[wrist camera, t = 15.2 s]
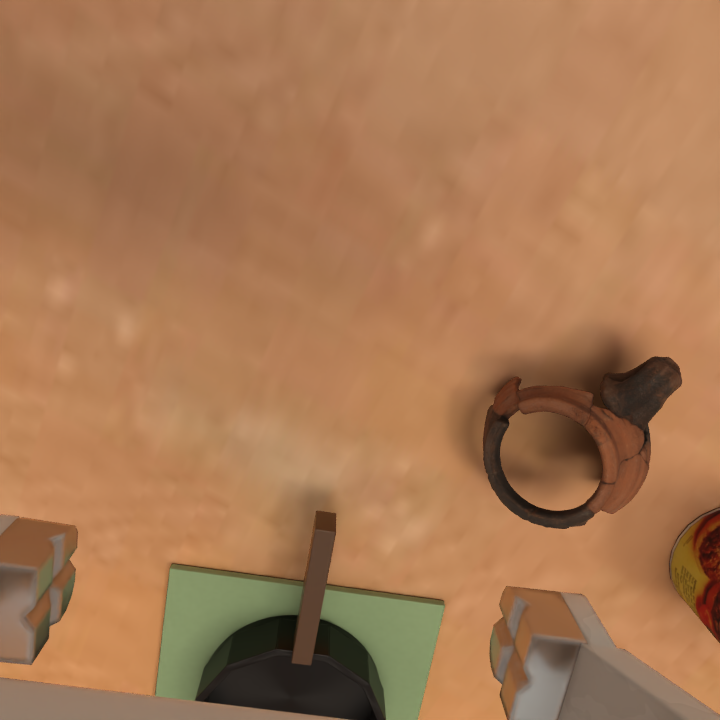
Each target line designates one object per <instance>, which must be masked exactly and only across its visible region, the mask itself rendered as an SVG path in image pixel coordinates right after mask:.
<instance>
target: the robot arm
mask: <svg viewBox="0 0 720 720" xmlns="http://www.w3.org/2000/svg"><path fill="white" fill-rule="evenodd" d="M77 541H78V531H77V528H76V526H74V525H68V524H62V523H55V522H49V521H43V520H36V519H30V518H24V517H21V518H20V517H19V516H12V515H3V514H0V662H6V663H17V664H27V665H32V663H33V662H34V660H35V659H36V657H37V655H38V654H39V652H40V651H41V649H42V648H43V646H44V645H45V643H46V642H47V640H48V638H49V626H51V625H53V624H55V623H57V622H59V621H60V619H61V618H62V616H63V614H64V613H65V611H66V609H67V606H68V604H69V601H70V598H71V596H72V592H73V587H74V582H75V571H76V569H75V567H74V566H73V564H72V563H71V561H70V560H69V559H70V557H71V556H72V554H73V553H74V551H75V550H76V549H77ZM499 606H500V609H501V611H502V614H503V617H502V618H501V619H500V620H499V621H498V622H497V623H495V624H494V626H493V631H492V635H491V640H490V663H491V668H492V672H493V675H494V677H495V678H496V679H497V680H498V681H499V682H500V683H501V684H502V688H501V691H500V698H501V701H502V704H503V707H504V710H505V713H506V717H507V720H720V715H719V714H717V713H716V712H715V711H713V710H712V709H710V708H709V707H707V706H706V705H704V704H703V703H701V702H700V701H699V700H697V699H696V698H694V697H693V696H691V695H690V694H688V693H687V692H686V691H684V690H683V689H681V688H680V687H678V686H677V685H675V684H674V683H673V682H671V681H670V680H668V679H667V678H665V677H664V676H662V675H661V674H660V673H658V672H657V671H655V670H654V669H652V668H651V667H649V666H648V665H647V664H645V663H644V662H642V661H641V660H639V659H638V658H636V657H635V656H634V655H632V654H631V653H629V652H628V651H626V650H625V649H619V648H616V646H615V644H614V643H613V641H612V639H611V638H610V636H609V634H608V633H607V631H606V629H605V628H604V626H603V624H602V623H601V621H600V619H599V618H598V616H597V614H596V613H595V611H594V609H593V608H592V606H591V604H590V603H589V601H588V599H587V598H586V597H585V596H584V595H582V594H577V593H567V592H556V591H547V590H538V589H529V588H520V587H511V586H506V587H505V589H504V591H503V593H502V596H501V600H500V603H499ZM0 720H349V719H341V718H333V717H324V716H316V715H308V714H300V713H291V712H283V711H275V710H266V709H258V708H250V707H241V706H233V705H225V704H217V703H208V702H200V701H192V700H183V699H175V698H167V697H158V696H150V695H142V694H134V693H125V692H117V691H109V690H100V689H92V688H84V687H75V686H67V685H59V684H51V683H42V682H34V681H26V680H17V679H9V678H1V677H0Z"/></svg>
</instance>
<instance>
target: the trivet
mask: <svg viewBox="0 0 720 720" xmlns="http://www.w3.org/2000/svg"><path fill="white" fill-rule="evenodd" d="M303 583H304V582H302V581H295V580H288V579H280V578H273V577H266V576H258V575H251V574H244V573H236V572H229V571H222V570H214V569H207V568H200V567H192V566H185V565H178V564H172V565H171V567H170V571H169V580H168V589H167V597H166V606H165V615H164V623H163V632H162V641H161V649H160V658H159V667H158V675H157V684H156V693H155V696H158V697H167V698H175V699H183V700H192V701H195V698H196V695H197V691H198V687H199V684H200V680H201V677H202V673H203V669H204V667H205V665H206V664H207V663H208V662H209V660H210V659H211V657H212V655H213V654H214V652H215V651H216V650H217V648H218V647H219V646H220V644H222V643H223V642H224V641H225V640H226V639H227V638H228V637H229V636H230V635H232V634H233V633H234V632H236V631H237V630H239V629H241V628H242V627H244V626H246V625H248V624H250V623H253V622H255V621H258V620H261V619H265V618H269V617H275V616H281V615H298V611H299V606H300V600H301V594H302V589H303ZM444 608H445V604H444V601H441V600H434V599H427V598H419V597H412V596H405V595H397V594H390V593H383V592H375V591H368V590H361V589H353V588H346V587H339V586H332V585H326V589H325V594H324V599H323V605H322V610H321V616H320V619H321V620H325V621H328V622H330V623H332V624H335V625H337V626H339V627H341V628H342V629H344V630H346V631H347V632H349V633H350V634H351V635H353V636H354V637H355V638H356V639H357V640H358V641H359V642H360V643H361V644H362V645H363V646H364V647H365V648H366V650H367V651H368V652H369V654H370V655H371V657H372V659H373V661H374V663H375V665H376V668H377V671H378V674H379V680H380V682H381V684H382V687H383V689H384V700H385V712H386V720H418V716H419V712H420V708H421V704H422V700H423V695H424V691H425V687H426V683H427V679H428V675H429V671H430V666H431V662H432V658H433V654H434V650H435V646H436V641H437V637H438V633H439V629H440V625H441V621H442V617H443V612H444Z"/></svg>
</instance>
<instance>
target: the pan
mask: <svg viewBox="0 0 720 720" xmlns="http://www.w3.org/2000/svg"><path fill="white" fill-rule="evenodd" d="M335 535H336V513H330V512H323V511H316V515H315V521H314V526H313V532H312V538H311V543H310V549H309V555H308V560H307V566H306V572H305V577H304V583H303V589H302V594H301V600H300V606H299V611H298V615H281V616H275V617H269V618H265V619H261V620H258V621H255V622H253V623H250V624H248V625H246V626H244V627H242V628H241V629H239V630H237V631H236V632H234V633H233V634H232V635H230V636H229V637H228V638H227V639H226V640H225V641H224V642H223V643H222V644H220V646H219V647H218V648H217V650H216V651H215V652H214V654H213V655H212V657H211V659H210V660H209V662H208V663H207V664H206V665H205V667H204V669H203V673H202V677H201V680H200V684H199V687H198V691H197V695H196V698H195V701H200V702H208V703H217V704H225V705H233V706H241V707H250V708H258V709H266V710H275V711H283V712H291V713H300V714H308V715H316V716H324V717H333V718H341V719H349V720H386V712H385V700H384V689H383V687H382V684H381V682H380V680H379V674H378V671H377V668H376V665H375V663H374V661H373V659H372V657H371V655H370V654H369V652H368V651H367V650H366V648H365V647H364V646H363V645H362V644H361V643H360V642H359V641H358V640H357V639H356V638H355V637H354V636H353V635H351V634H350V633H349V632H347V631H346V630H344V629H342V628H341V627H339V626H337V625H335V624H332V623H330V622H328V621H325V620H321V619H320V616H321V610H322V605H323V599H324V594H325V589H326V583H327V578H328V573H329V567H330V562H331V556H332V551H333V546H334V540H335Z"/></svg>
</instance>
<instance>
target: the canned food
mask: <svg viewBox="0 0 720 720" xmlns="http://www.w3.org/2000/svg"><path fill="white" fill-rule="evenodd" d="M669 567H670V577H671V580H672V582H673V584H674V587H675V589H676V591H677V592H678V593H679V594H680V595H681V597H682V598H683V599H684V600H685V602H686V603H687V604H688V605H689V606H690V608H691V609H692V610H693V611H694V613H695V614H696V615H697V616H698V617H699V619H700V620H701V621H702V622H703V624H704V625H705V626H706V627H707V628H708V630H709V631H710V632H711V633H712V635H713V636H714V637H715V638H716V639H717V641H718V642H719V643H720V508H718V509H715V510H713V511H711V512H708V513H706V514H704V515H702V516H700V517H699V518H698V519H696V520H695V521H694V522H692V523H691V524H690V525H689V526H688V527H687V528H686V529H685V530H684V531H683V533H682V534H681V535H680V536H679V537H678V539H677V541H676V543H675V545H674V547H673V549H672V553H671V558H670V563H669Z"/></svg>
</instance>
